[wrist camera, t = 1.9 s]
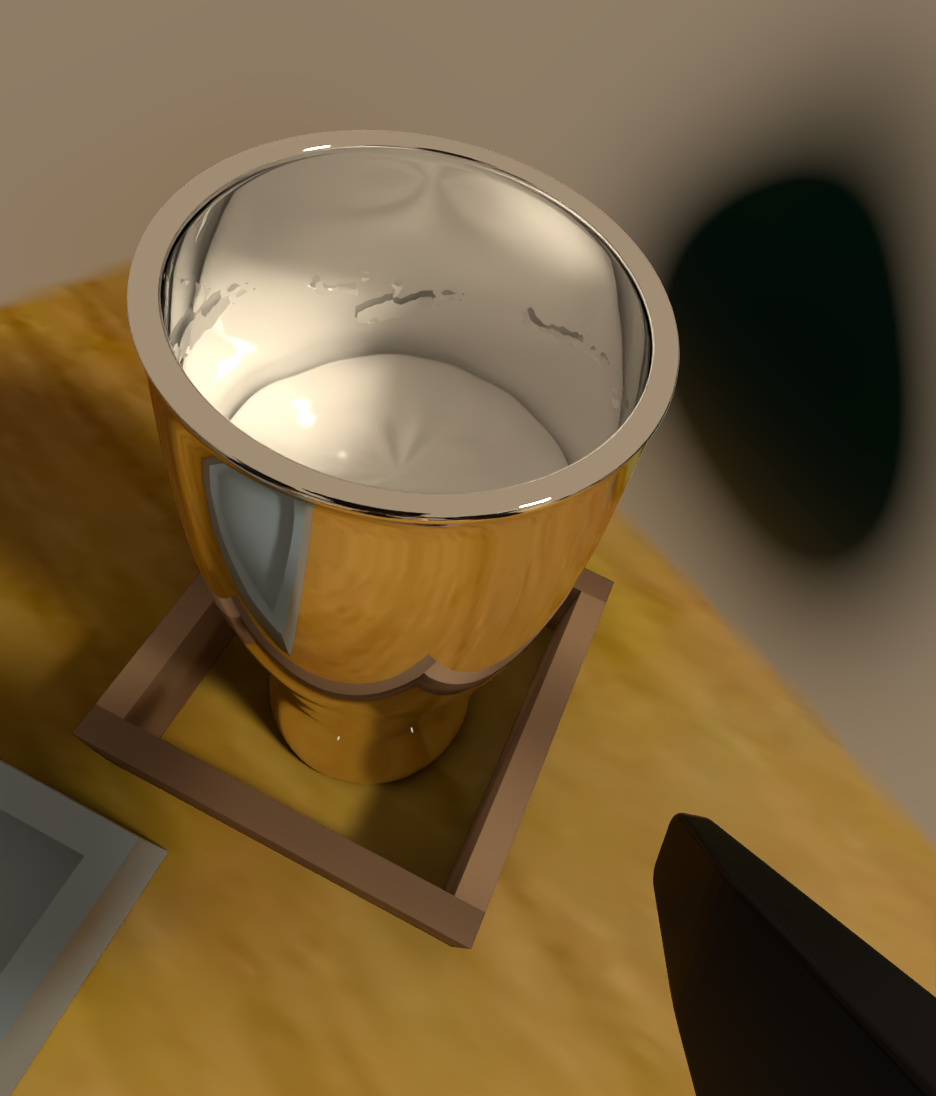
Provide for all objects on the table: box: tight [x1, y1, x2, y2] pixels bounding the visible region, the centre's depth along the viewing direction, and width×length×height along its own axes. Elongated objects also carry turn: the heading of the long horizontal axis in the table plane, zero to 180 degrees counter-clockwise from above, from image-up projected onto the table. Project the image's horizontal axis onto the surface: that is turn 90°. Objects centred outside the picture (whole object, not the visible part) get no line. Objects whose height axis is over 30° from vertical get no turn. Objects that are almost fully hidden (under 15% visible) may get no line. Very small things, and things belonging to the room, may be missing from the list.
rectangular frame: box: [72, 568, 614, 949], centre depth 20 cm, size 11×11×3 cm
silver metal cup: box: [127, 130, 679, 784], centre depth 15 cm, size 7×7×15 cm
